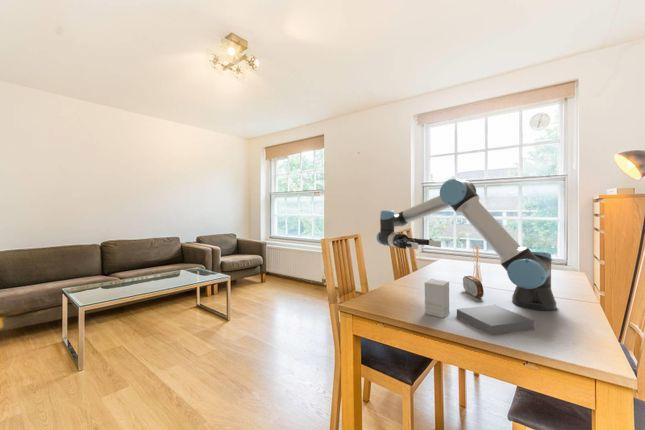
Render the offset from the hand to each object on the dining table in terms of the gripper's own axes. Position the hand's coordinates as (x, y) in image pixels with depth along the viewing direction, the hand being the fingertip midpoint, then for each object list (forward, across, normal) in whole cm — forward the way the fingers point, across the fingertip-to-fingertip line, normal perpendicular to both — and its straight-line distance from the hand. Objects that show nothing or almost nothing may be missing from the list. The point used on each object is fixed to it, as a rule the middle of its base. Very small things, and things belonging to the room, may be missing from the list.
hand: (429, 245), depth 126 cm
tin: (+3, -24, -25) cm, 35 cm away
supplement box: (+13, +9, -25) cm, 30 cm away
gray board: (+29, -3, -25) cm, 38 cm away
